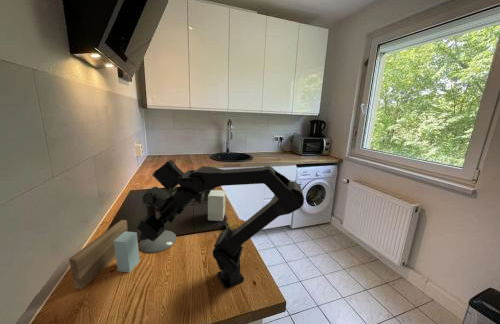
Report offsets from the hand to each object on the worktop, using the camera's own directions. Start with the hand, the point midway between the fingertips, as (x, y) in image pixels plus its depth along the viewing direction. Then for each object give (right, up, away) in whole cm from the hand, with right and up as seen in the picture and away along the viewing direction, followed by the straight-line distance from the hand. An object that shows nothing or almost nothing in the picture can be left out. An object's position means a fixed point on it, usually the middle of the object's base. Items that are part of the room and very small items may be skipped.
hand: (150, 230), depth 63 cm
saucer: (-4, -9, +15) cm, 19 cm away
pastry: (+24, -8, +27) cm, 38 cm away
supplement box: (+15, -6, +35) cm, 38 cm away
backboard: (-16, -12, +3) cm, 20 cm away
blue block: (-8, -13, +3) cm, 15 cm away
